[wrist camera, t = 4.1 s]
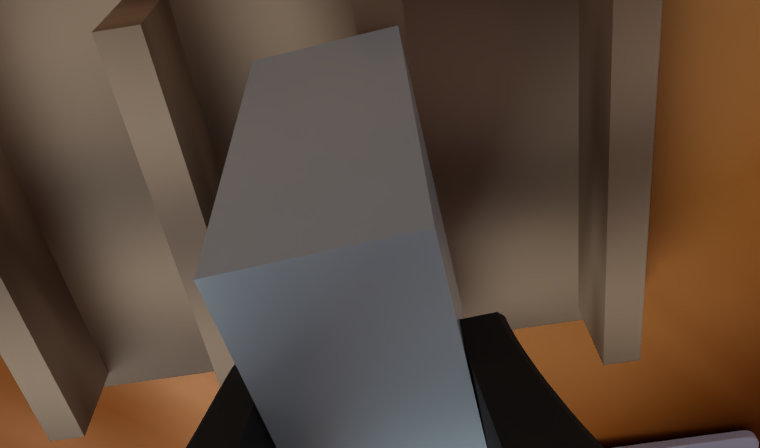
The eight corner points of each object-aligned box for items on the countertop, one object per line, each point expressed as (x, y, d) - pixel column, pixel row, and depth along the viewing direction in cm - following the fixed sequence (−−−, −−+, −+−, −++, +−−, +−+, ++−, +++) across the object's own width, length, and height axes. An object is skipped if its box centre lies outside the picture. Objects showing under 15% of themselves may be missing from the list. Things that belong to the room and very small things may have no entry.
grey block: (465, 319, 19) (519, 582, 13) (352, 342, 19) (356, 609, 13) (398, 25, 14) (435, 228, 9) (252, 61, 15) (193, 279, 9)
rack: (623, 292, 23) (664, 369, 20) (71, 370, 24) (32, 456, 21) (641, -119, 17) (705, -93, 14) (-115, 5, 17) (-207, 54, 14)
